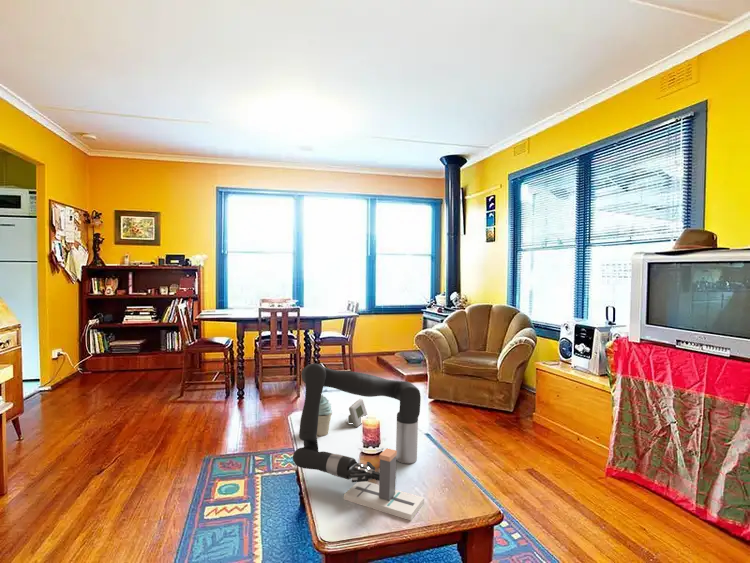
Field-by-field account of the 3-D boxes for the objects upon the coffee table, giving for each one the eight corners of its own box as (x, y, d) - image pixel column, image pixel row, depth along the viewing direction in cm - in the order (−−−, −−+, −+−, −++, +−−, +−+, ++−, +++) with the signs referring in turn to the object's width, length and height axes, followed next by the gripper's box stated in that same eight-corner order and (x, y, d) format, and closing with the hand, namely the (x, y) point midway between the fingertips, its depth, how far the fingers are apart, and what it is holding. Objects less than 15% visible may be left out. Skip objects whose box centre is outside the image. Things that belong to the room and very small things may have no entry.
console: (360, 484, 165) (360, 479, 165) (423, 503, 153) (424, 497, 153) (343, 499, 154) (344, 493, 154) (411, 520, 142) (411, 514, 142)
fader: (385, 490, 156) (386, 448, 156) (395, 493, 155) (396, 450, 154) (378, 498, 151) (379, 454, 150) (388, 501, 149) (389, 457, 149)
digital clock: (356, 428, 221) (357, 408, 220) (342, 425, 225) (342, 405, 225) (372, 419, 235) (373, 400, 234) (358, 416, 239) (359, 397, 239)
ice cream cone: (328, 428, 220) (329, 389, 220) (333, 436, 210) (334, 396, 209) (309, 430, 217) (309, 391, 216) (313, 438, 207) (313, 397, 206)
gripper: (331, 463, 155) (374, 475, 147) (350, 449, 167) (390, 459, 159) (331, 483, 156) (373, 496, 148) (349, 468, 167) (390, 479, 160)
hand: (382, 477), depth 154 cm, fingers closed
